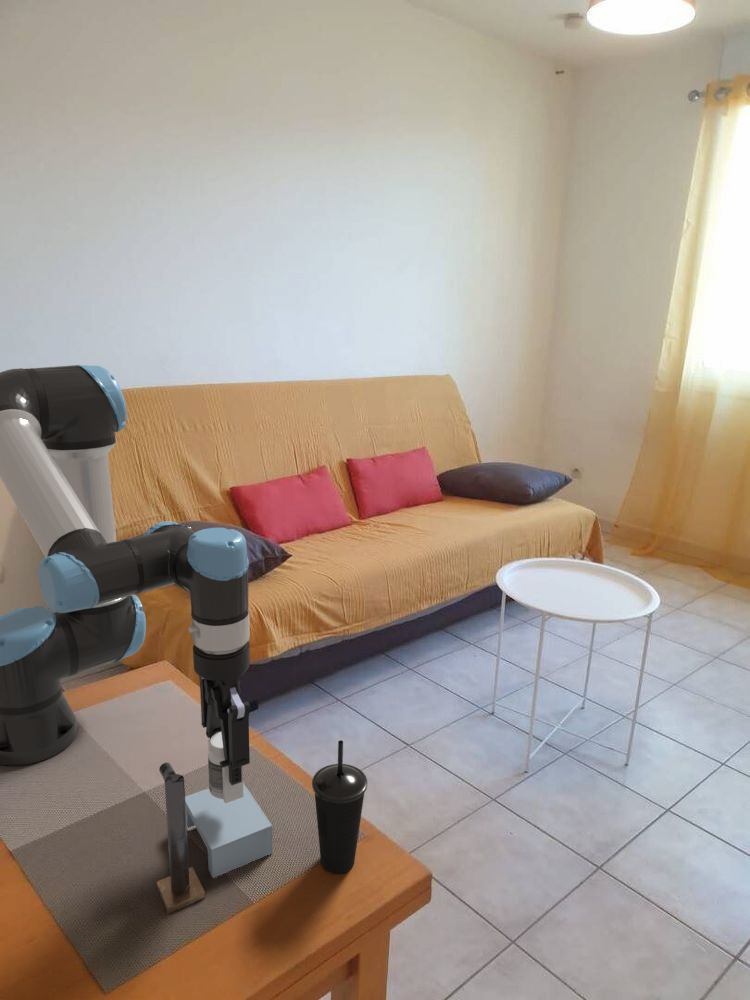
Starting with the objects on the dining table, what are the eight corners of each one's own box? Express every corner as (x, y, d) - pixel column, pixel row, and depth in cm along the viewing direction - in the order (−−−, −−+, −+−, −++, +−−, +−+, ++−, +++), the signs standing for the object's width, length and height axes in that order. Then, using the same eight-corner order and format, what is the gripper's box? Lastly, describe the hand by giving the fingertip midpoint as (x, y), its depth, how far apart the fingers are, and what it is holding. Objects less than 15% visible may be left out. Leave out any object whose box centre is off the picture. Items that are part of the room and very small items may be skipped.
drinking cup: (363, 883, 99) (368, 760, 93) (308, 881, 99) (309, 758, 94) (365, 842, 107) (369, 726, 101) (313, 840, 107) (315, 724, 101)
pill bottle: (235, 802, 101) (233, 752, 99) (203, 797, 102) (201, 746, 99) (247, 780, 105) (246, 732, 103) (217, 775, 106) (215, 727, 104)
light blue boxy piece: (184, 824, 109) (183, 797, 107) (240, 804, 113) (239, 777, 112) (212, 879, 99) (211, 849, 98) (272, 853, 104) (272, 825, 102)
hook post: (153, 879, 99) (145, 769, 93) (189, 865, 101) (183, 756, 96) (168, 913, 94) (160, 798, 88) (205, 897, 96) (200, 785, 91)
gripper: (173, 622, 102) (181, 761, 109) (218, 679, 88) (224, 836, 94) (223, 611, 106) (228, 746, 113) (274, 664, 92) (276, 815, 98)
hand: (226, 787), depth 104 cm, fingers closed on pill bottle, 5 cm apart
